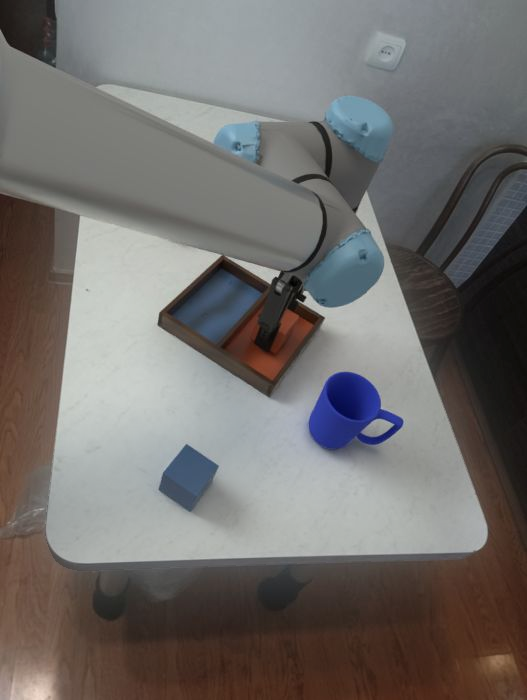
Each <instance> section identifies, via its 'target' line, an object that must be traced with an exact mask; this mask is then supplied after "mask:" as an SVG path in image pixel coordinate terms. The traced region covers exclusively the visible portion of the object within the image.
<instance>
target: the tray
mask: <svg viewBox="0 0 527 700" xmlns="http://www.w3.org/2000/svg"><path fill="white" fill-rule="evenodd" d="M270 287H271V283H270V282H267V281H266V280H265V279H263V278H261V277H260V276H258V275H256V274H255V273H253V272H252V271H250V270H249V269H247V268H245V267H243V266H242V265H240V264H239V263H237V262H235V261H234V260H232V259H230V257H227V256H224V255H220V256H219V257H218V258H217V259H216V260H215V261H214V262H212V264H210V265H209V266H208V267H207V268H206V269H204V271H203V272H202V273H200V275H198V277H196V278H195V279H194V280H193V281H192V282H191V283H190V284H189V285H188V286H187V287H185V288H184V289H183V290H182V291H181V292H180V293H179V294H178V295H176V296H175V297H174V299H172V300H171V301H170V302H169V303H168V304H167V305H166V306H165V307H164V308H163V309H161V310H160V311H159V312H158V317H157V326H158V327H159V328H161V329H163V330H165V332H168V333H169V334H170V335H173V336H174V337H175V338H177V339H178V340H180V341H182V343H185V344H186V345H187V346H189V347H191V348H193V350H196V351H197V352H198V353H200V354H202V355H203V356H205V357H206V358H207V359H210V360H211V362H214V363H216V364H217V365H218V366H220V367H222V368H223V369H225V370H226V371H228V372H229V373H231V374H233V376H236V377H237V378H239V379H240V380H241V381H243V382H245V383H246V384H248V385H250V386H251V387H252V388H254V389H256V390H257V391H258V392H260V393H262V394H264V395H265V396H266V397H268V398H270V397H271V396H272V394H273V393H274V392H275V391H276V389H277V388H278V387H279V385H280V384H281V383H282V381H283V379H284V378H285V377H286V375H287V374H288V373H289V371H290V370H291V369H292V367H293V366H294V364H295V363H296V362H297V361H298V359H299V358H300V356H301V355H302V353H303V352H304V351H305V349H306V348H307V346H308V345H309V344H310V342H311V341H312V340H313V339H314V337H315V336H316V334H317V333H318V331H319V330H320V329H321V327H322V325H323V323H324V321H325V319H326V317H325V316H324V315H322V314H320V313H319V312H317V311H315V310H313V309H312V308H310V307H309V306H307V305H305V304H304V303H302V302H301V301H299V300H296V301H297V302H299V303H298V305H297V307H296V310H295V312H294V313H295V314H297V315H298V316H299V319H298V321H297V323H296V325H295V327H294V329H293V331H292V334H291V336H290V337H289V338H288V339H287V341H286V342H285V343H284V345H283V346H282V347H281V348H280V350H279V351H278V352H277V354H275V353H273V352H272V351H270V350H269V352H266V351H265V350H263V349H262V348H260V347H258V346H257V345H255V344H254V340H253V339H251V338H250V335H251V333H252V330H253V327H254V325H255V322H256V320H257V317H258V315H259V314H260V313H261V312H262V309H263V307H264V304H265V301H266V299H267V296H268V294H269V291H270Z"/></svg>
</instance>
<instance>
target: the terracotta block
mask: <svg viewBox="0 0 527 700" xmlns="http://www.w3.org/2000/svg"><path fill="white" fill-rule="evenodd" d="M258 319H259V318H258V317H257V320H256V322H255V325H254V327H253V330H252V333H251V335H250V338H251V339H253V340H254V341H255V338H256V336H257V333H258V331H259V328H260V326H259V325H258V324H257V322H258ZM298 319H299V316H298V315H297V314H295V313H294V312H292V311H290V310H289V309H287V310H286V312H285V313H284V315H283V317H282V319H281V321H280V323H282V324H281V326H280V328H279V331H278V333H277V335H276V337H275V340H274V342H273V344H272V346H271V349H270V351H272V352H273V353H275V354H277V352H278V351H279V350H280V348H281V347H282V346H283V345H284V343H285V342H286V341H287V339H288V338H289V337H290V336H291V334H292V331H293V329H294V327H295V325H296V323H297V321H298Z"/></svg>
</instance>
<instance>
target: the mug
mask: <svg viewBox="0 0 527 700" xmlns="http://www.w3.org/2000/svg"><path fill="white" fill-rule="evenodd" d="M381 407H382V400H381V396H380V394H379V392H378V389H377V388H376V387H375V385H374V384H373V383H372V382H371V381H370V380H368V379H367V378H366V377H364V376H362V375H361V374H358V373H355V372H352V371H339V372H336V373H334V374H332V375H331V376H329V377H328V378H327V379H326V380H325V383H324V385H323V387H322V390H321V391H320V393H319V396H318V397H317V400H316V402H315V404H314V407H313V409H312V411H311V413H310V415H309V418H308V431H309V434H310V436H311V437H312V439H313V440H314V441H315V442H316V444H318V445H319V446H321V447H322V448H325V449H329V450H339V449H342V448H345V447H346V446H347V445H349V444H351V442H353V440H354V439H357V440H358V442H360V443H362V444H365V445H367V446H377V445H380V444H383V443H385V442H386V441H387V440H389V439H391V438H392V437H393V436H394V435H395V434H396V433H398V432H399V431H400V430H401V429H402V428H403V426H404V419H403V418H402V417H401V416H399V415H397V414H395V413H393V412H391V411H389V410H386V409H382V408H381ZM376 420H384V421H386V422H388V423H390V424H392V426H391V427H390V428H389V429H388V430H386V431H385V432H383V433H382V434H380V435H377V436H369V435H366V434H364V433H362V432H363V431H364V430H365V429H366V428H367V427H368V426H369V425H370V424H372V422H374V421H376Z"/></svg>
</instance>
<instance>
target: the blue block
mask: <svg viewBox="0 0 527 700" xmlns="http://www.w3.org/2000/svg"><path fill="white" fill-rule="evenodd" d="M218 469H219V464H217V463H216V462H215V461H213V460H211V459H210V458H209V457H207V456H205V455H204V454H203V453H201V452H199V451H198V450H196V449H195V448H194V447H192V446H190V445H189V444H188V443H186V444H185V445H184V446H183V447H182V448H181V450H180V451H179V452H178V453H177V455H176V456H175V457H174V459H173V460H172V461H171V462H170V463H169V465H168V466H167V467H166V468H165V469H164V470H163V472H162V474H161V478H160V483H159V486H158V490H159V492H161V493H163V494H164V495H166V496H167V497H168V498H169V499H171V500H173V501H174V502H175V503H177V504H178V505H180V506H181V507H183V508H184V509H185V510H187V511H188V512H189V513H190V512H192V511H193V509H194V508H195V507H196V505H197V503H198V502H199V501H200V500H201V498H202V497H203V495H204V494H205V493H206V491H207V490H208V488H209V487H210V486H211V485H212V483H213V481H214V479H215V476H216V474H217V472H218Z"/></svg>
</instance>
